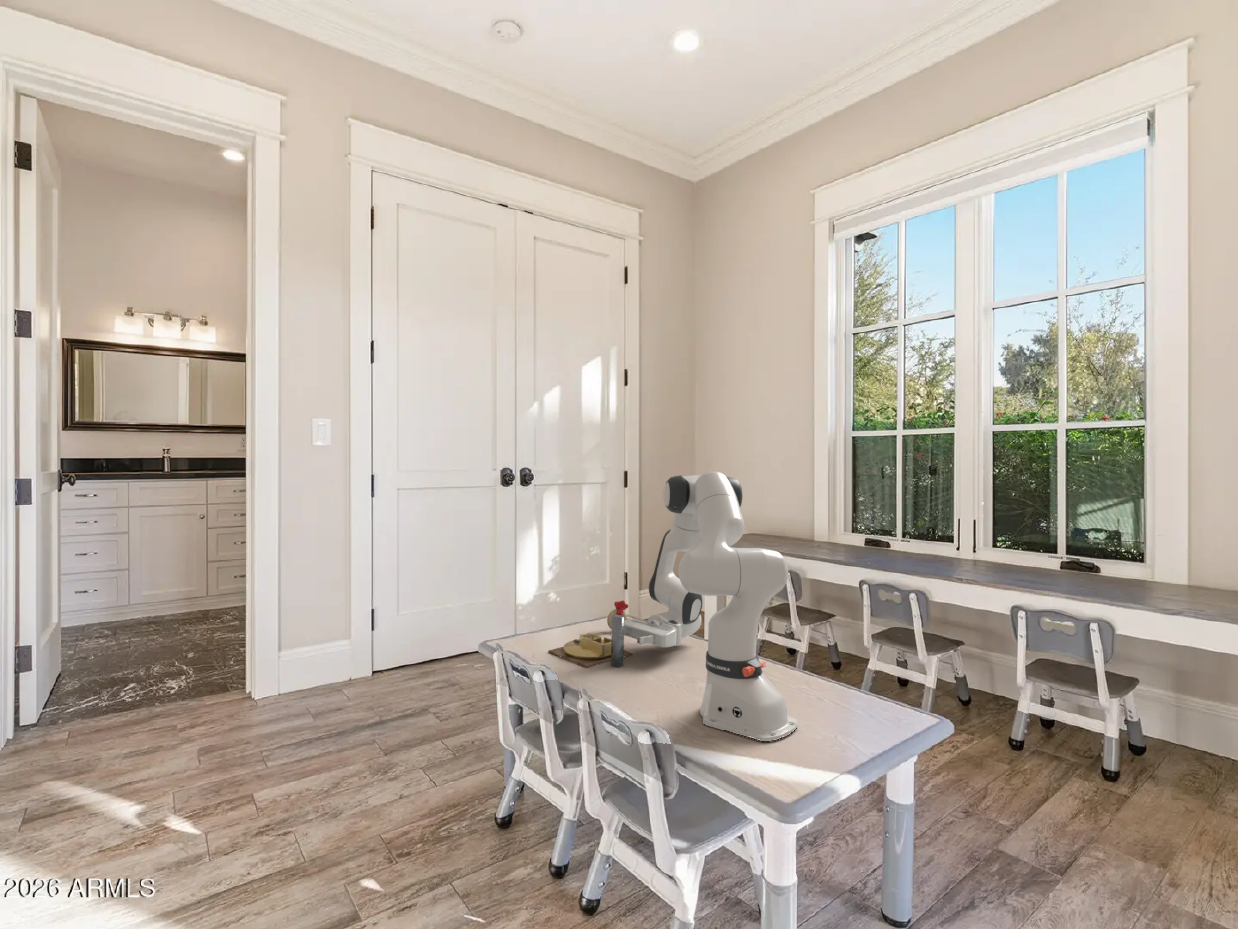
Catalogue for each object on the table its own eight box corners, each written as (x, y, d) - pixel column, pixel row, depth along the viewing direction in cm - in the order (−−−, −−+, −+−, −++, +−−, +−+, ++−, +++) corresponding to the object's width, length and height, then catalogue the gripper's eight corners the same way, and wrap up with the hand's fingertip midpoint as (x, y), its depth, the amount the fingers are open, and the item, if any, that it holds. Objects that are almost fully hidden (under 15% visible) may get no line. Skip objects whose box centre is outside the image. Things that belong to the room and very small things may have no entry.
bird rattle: (619, 641, 209) (640, 627, 213) (607, 612, 207) (629, 598, 211) (609, 636, 215) (630, 623, 219) (598, 608, 212) (620, 595, 216)
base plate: (632, 654, 189) (632, 651, 189) (586, 667, 177) (586, 665, 177) (593, 640, 202) (593, 638, 202) (548, 652, 190) (548, 649, 190)
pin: (626, 665, 179) (626, 616, 179) (616, 668, 177) (617, 619, 176) (617, 662, 182) (618, 614, 182) (608, 665, 179) (609, 616, 179)
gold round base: (629, 652, 188) (629, 637, 188) (588, 664, 177) (589, 648, 177) (592, 639, 201) (593, 626, 201) (552, 650, 190) (553, 635, 190)
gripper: (636, 612, 199) (603, 619, 189) (685, 625, 184) (652, 634, 174) (635, 631, 199) (603, 640, 189) (684, 646, 184) (652, 656, 174)
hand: (627, 637), depth 182 cm, fingers open, 8 cm apart
